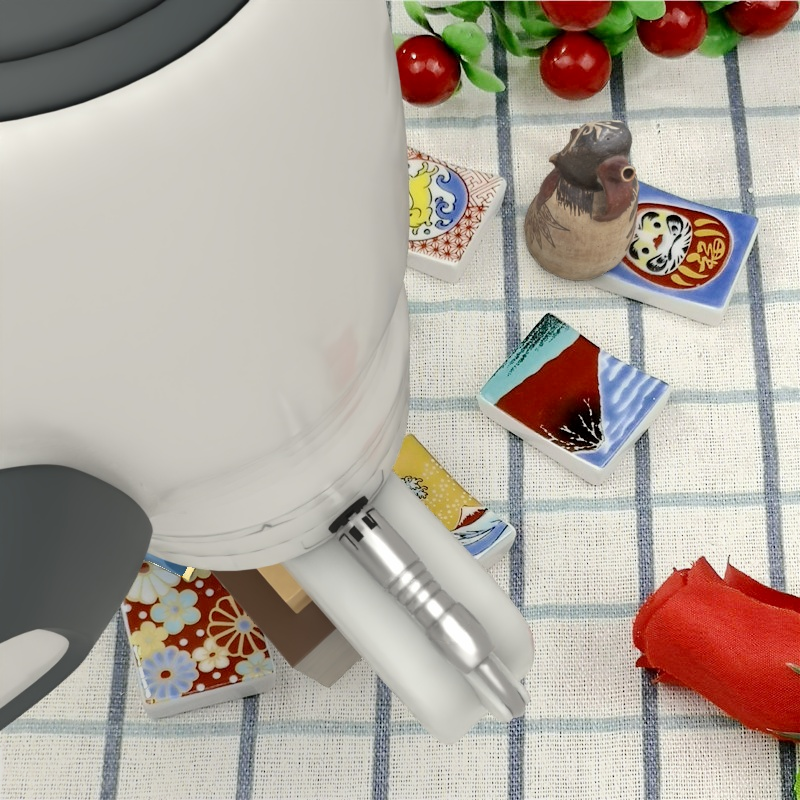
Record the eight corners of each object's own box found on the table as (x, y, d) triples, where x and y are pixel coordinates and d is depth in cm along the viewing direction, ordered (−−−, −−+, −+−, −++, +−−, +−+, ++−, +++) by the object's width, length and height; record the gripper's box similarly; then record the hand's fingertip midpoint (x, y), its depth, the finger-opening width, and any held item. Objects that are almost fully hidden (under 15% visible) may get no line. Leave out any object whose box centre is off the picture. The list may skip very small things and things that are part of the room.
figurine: (609, 179, 70) (649, 71, 59) (643, 269, 68) (691, 175, 56) (511, 203, 69) (532, 99, 58) (542, 294, 67) (570, 205, 56)
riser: (328, 688, 59) (292, 668, 40) (242, 587, 61) (169, 522, 42) (428, 596, 61) (438, 535, 42) (340, 500, 63) (313, 400, 44)
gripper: (634, 613, 22) (550, 656, 35) (79, 41, 27) (187, 266, 40) (424, 821, 21) (418, 785, 34) (-120, 181, 26) (59, 366, 39)
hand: (290, 501), depth 37 cm, fingers open, 8 cm apart
